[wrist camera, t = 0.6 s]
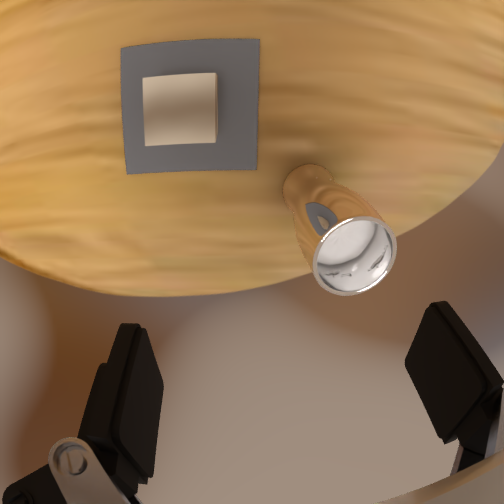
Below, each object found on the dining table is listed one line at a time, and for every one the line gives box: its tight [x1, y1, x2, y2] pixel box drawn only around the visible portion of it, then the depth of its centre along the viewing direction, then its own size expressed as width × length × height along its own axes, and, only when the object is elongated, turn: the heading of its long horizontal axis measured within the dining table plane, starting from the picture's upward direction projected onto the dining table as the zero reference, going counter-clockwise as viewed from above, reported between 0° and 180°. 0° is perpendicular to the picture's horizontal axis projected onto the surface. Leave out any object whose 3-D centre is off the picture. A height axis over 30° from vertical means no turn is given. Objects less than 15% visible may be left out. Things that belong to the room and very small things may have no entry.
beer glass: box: [283, 164, 397, 296], centre depth 28 cm, size 7×7×15 cm
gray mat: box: [121, 39, 260, 174], centre depth 29 cm, size 14×14×1 cm
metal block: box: [143, 73, 218, 146], centre depth 26 cm, size 6×6×6 cm
